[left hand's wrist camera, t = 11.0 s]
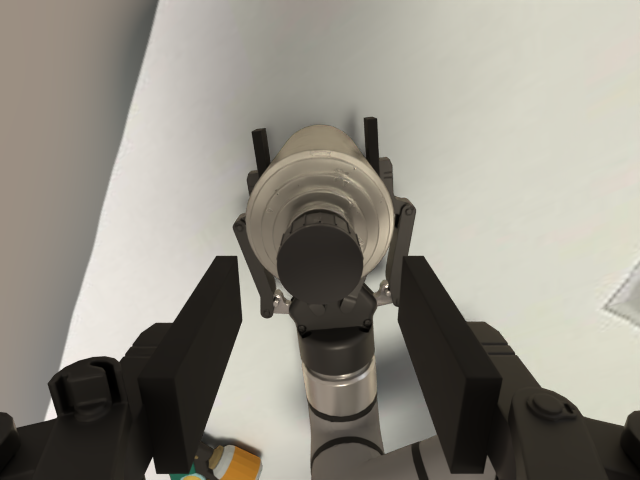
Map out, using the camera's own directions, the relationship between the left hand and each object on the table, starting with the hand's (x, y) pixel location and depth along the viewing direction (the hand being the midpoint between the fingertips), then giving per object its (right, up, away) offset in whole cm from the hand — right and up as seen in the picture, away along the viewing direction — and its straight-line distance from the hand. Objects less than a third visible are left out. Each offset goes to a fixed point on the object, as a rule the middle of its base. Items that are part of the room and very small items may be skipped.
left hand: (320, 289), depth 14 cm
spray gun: (-15, -31, +40) cm, 53 cm away
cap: (0, +1, +2) cm, 2 cm away
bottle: (0, +9, +25) cm, 27 cm away
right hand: (0, +11, +17) cm, 21 cm away
